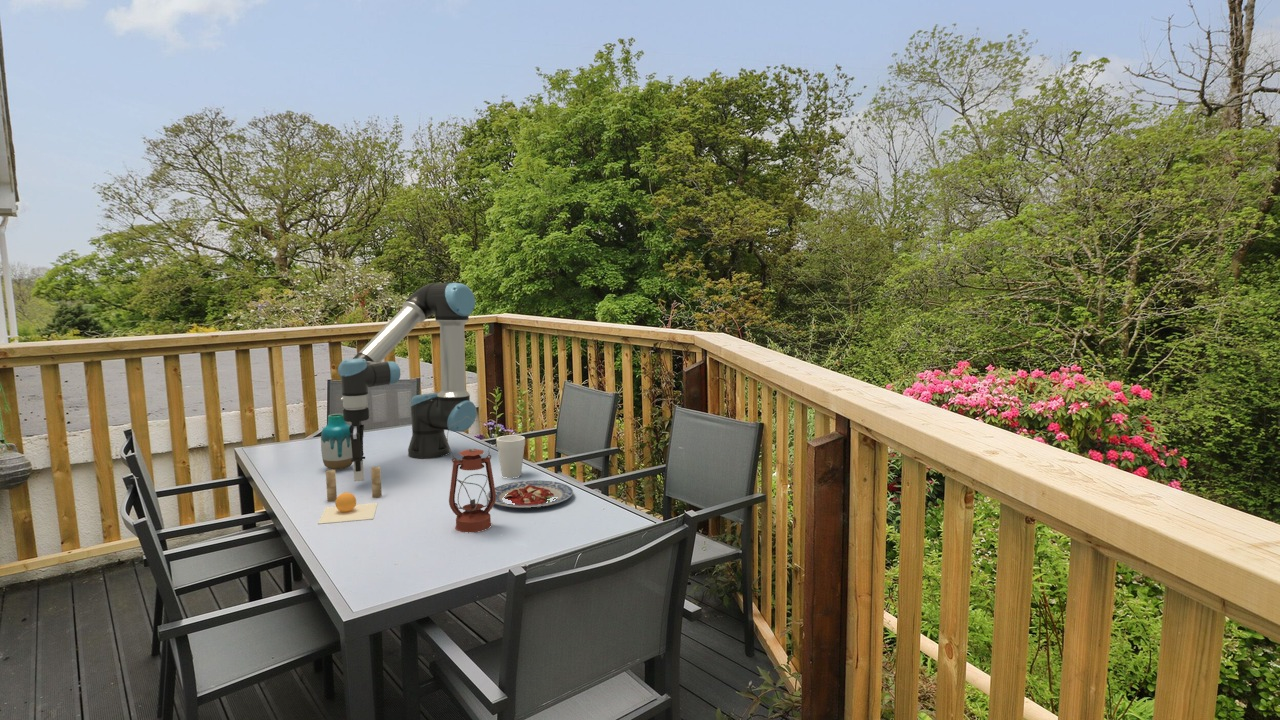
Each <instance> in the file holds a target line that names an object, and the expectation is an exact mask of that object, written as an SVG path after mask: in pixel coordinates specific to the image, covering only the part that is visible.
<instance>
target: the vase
mask: <svg viewBox="0 0 1280 720" xmlns="http://www.w3.org/2000/svg"><path fill="white" fill-rule="evenodd" d="M349 427H350V425H349V424H347V422H346V421H344V419H343V413H332V414H329V415H327V424H326V426H325V427H323V428H322V429H321V434H320V435H321V436H320V445H321V446H320V448H321V449H320V451H321V458H322V459H321V460H322V463H323V464H324V466H325V467H326V468H327V469H328V470H335V471H338V470H345V469H347V468H349V467H350V466H352V465H353V464H354V463H353V462H351V459H352V458H353V457H352V445H351V436H350V432H349Z"/></svg>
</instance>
